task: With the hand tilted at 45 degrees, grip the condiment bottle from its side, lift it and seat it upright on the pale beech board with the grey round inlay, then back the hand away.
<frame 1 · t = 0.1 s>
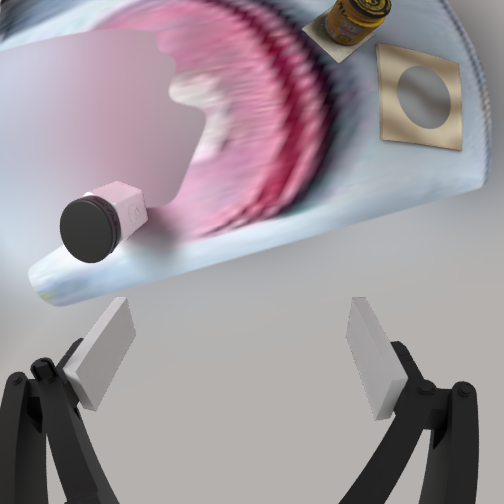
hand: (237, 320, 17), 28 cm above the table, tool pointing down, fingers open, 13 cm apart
board: (421, 97, 35), on the table
condiment: (338, 31, 33), on the table
jar: (123, 208, 43), on the table
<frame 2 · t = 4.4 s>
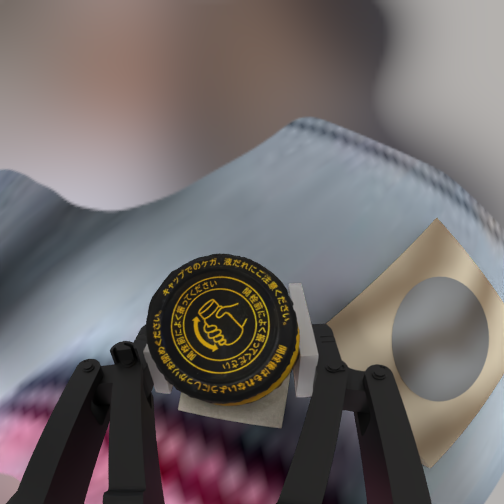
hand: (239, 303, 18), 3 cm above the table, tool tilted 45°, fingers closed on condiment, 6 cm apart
board: (438, 340, 20), on the table
condiment: (239, 363, 20), on the table, touching gripper
when the fingers open (5 cm above the table, at t = 9.5 s): condiment stays where it is, resting on board.
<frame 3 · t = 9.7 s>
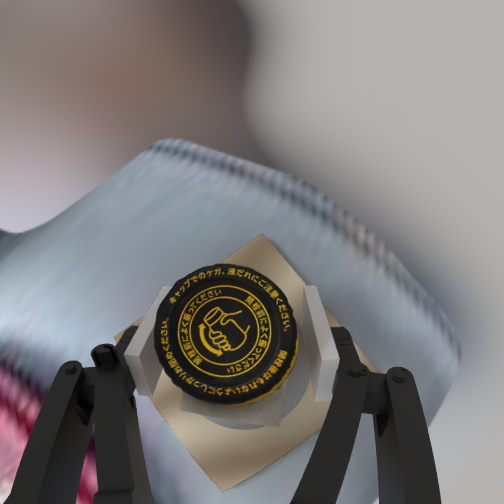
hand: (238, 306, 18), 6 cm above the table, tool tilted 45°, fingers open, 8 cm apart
board: (243, 364, 22), on the table
condiment: (238, 365, 21), point 1 cm above the table, touching board
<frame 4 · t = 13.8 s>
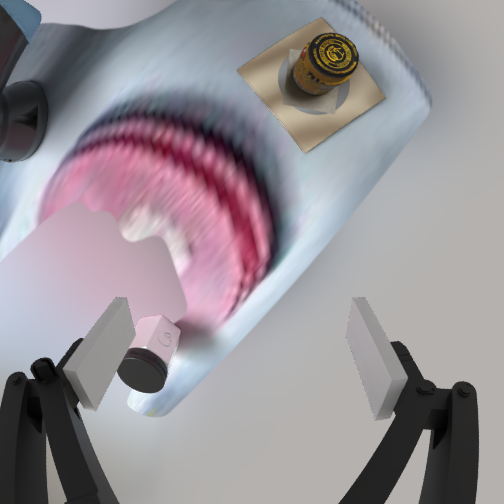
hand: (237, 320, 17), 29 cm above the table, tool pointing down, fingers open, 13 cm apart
board: (313, 82, 36), on the table
condiment: (312, 81, 35), point 1 cm above the table, touching board
jar: (159, 331, 53), on the table
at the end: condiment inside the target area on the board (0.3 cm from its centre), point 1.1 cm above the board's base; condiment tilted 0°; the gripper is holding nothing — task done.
